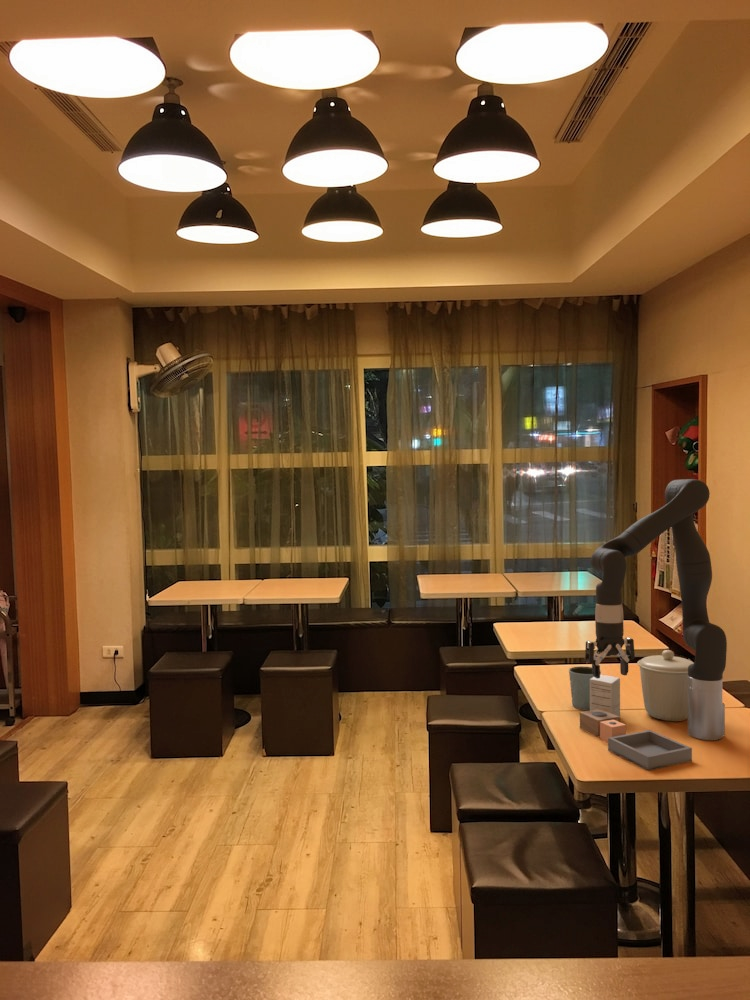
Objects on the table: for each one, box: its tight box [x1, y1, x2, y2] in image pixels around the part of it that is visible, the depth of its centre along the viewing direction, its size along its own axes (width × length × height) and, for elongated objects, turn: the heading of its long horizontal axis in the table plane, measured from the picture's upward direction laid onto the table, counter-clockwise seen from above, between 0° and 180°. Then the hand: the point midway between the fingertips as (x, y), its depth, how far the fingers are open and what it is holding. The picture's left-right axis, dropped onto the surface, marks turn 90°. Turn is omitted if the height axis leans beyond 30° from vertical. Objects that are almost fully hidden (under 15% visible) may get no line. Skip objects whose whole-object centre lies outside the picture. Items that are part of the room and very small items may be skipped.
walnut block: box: [579, 709, 620, 738], centre depth 211 cm, size 8×8×5 cm
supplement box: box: [589, 674, 621, 718], centre depth 222 cm, size 7×7×13 cm
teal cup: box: [568, 665, 602, 711], centre depth 234 cm, size 10×10×12 cm
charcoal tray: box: [607, 729, 693, 772], centre depth 192 cm, size 15×15×4 cm
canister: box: [636, 649, 694, 722], centre depth 223 cm, size 18×18×21 cm
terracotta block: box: [599, 719, 627, 743], centre depth 203 cm, size 5×5×5 cm
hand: (610, 676), depth 200 cm, fingers open, 8 cm apart
